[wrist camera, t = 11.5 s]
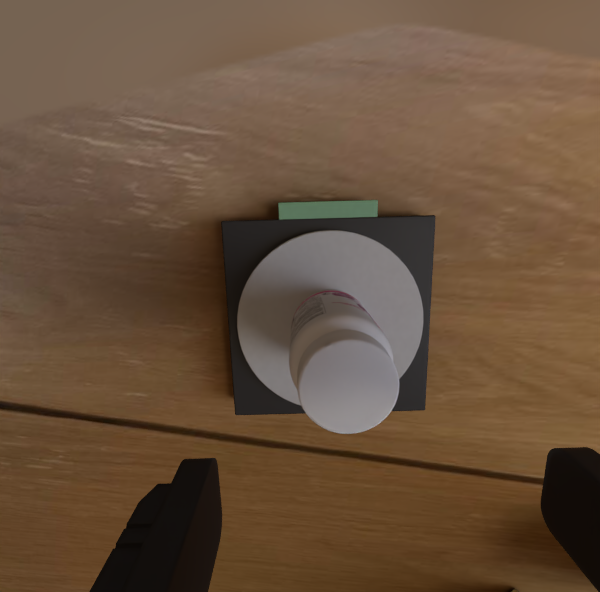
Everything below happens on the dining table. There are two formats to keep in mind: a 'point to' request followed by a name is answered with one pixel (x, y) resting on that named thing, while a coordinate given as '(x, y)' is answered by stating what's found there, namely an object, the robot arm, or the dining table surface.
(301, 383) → the pill bottle
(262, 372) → the scale
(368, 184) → the dining table surface
